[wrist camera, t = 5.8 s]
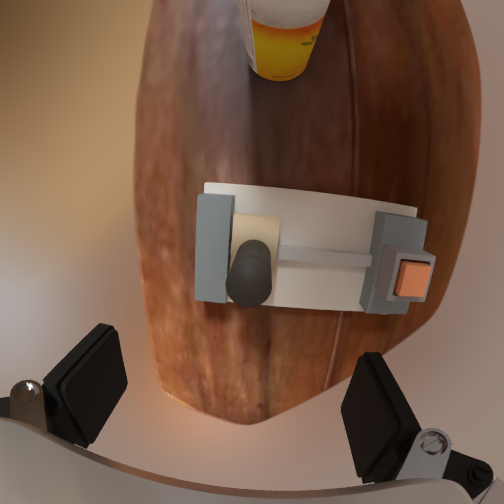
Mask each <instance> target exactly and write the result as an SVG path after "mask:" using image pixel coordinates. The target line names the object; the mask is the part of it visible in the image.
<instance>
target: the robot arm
mask: <svg viewBox="0 0 504 504" xmlns="http://www.w3.org/2000/svg"><path fill="white" fill-rule="evenodd" d="M43 382H44V384H43V385H42V386H41V385H40V384H39V383H38V382H36V381H33V380H24V381H20V382H18V383H17V384H15V385H14V386H13V388H12V389H11V393H10V397H4V398H0V504H504V482H503V481H502V480H500V479H499V478H496V479H495V480H494V479H493V471H492V469H491V467H490V466H489V465H488V464H487V463H485V462H484V461H481V460H478V459H475V458H472V457H470V456H467V455H464V454H461V453H459V452H456V451H454V450H451V445H452V444H451V440H450V438H449V436H448V435H447V434H446V433H445V432H443V431H442V430H440V429H436V428H427V429H423V430H422V429H421V427H420V425H419V423H418V421H417V419H416V417H415V415H414V413H413V412H412V409H411V408H410V406H409V404H408V402H407V400H406V398H405V396H404V395H403V393H402V391H401V389H400V387H399V386H398V384H397V382H396V380H395V378H394V377H393V375H392V373H391V371H390V370H389V368H388V366H387V364H386V362H385V361H384V359H383V357H382V355H381V354H380V353H379V352H365V353H364V354H363V356H360V357H359V358H358V361H357V364H356V367H355V370H354V373H353V376H352V378H351V381H350V384H349V387H348V389H347V392H346V395H345V397H344V400H343V402H342V405H341V414H342V417H343V421H344V425H345V429H346V433H347V437H348V441H349V445H350V449H351V453H352V457H353V461H354V465H355V469H356V473H357V476H358V477H361V478H362V482H363V484H365V483H371V482H374V484H368V485H361V486H354V487H346V488H335V489H323V490H307V491H266V490H249V489H237V488H227V487H219V486H212V485H206V484H200V483H194V482H189V481H184V480H179V479H174V478H170V477H165V476H162V475H158V474H154V473H151V472H147V471H143V470H140V469H137V468H134V467H130V466H127V465H124V464H121V463H118V462H116V461H113V460H110V459H107V458H105V457H102V456H100V455H97V454H94V453H92V452H90V451H88V450H85V449H87V447H88V446H89V444H92V443H94V441H95V440H96V438H97V436H98V435H99V433H100V431H101V430H102V428H103V426H104V424H105V423H106V421H107V419H108V418H109V416H110V414H111V413H112V411H113V409H114V408H115V406H116V404H117V403H118V401H119V400H120V398H121V396H122V394H123V393H124V391H125V390H126V387H127V384H128V381H127V376H126V372H125V367H124V362H123V358H122V353H121V348H120V342H119V337H118V332H117V331H116V330H115V329H114V327H113V326H111V325H107V324H102V323H99V324H98V325H97V326H96V327H95V328H94V329H93V330H92V331H91V332H89V334H88V335H86V336H85V337H84V338H83V339H82V340H81V341H80V342H79V343H78V344H77V345H76V346H75V347H74V348H73V349H72V350H71V351H70V352H69V353H68V354H67V355H66V356H65V357H64V358H63V359H62V360H61V361H60V363H58V364H57V365H56V366H55V367H54V368H53V369H52V370H51V372H49V374H48V375H47V376H46V377H45V378H44V379H43ZM74 444H76V445H79V446H81V447H83V448H85V449H83V448H81V447H78V446H76V445H74Z"/></svg>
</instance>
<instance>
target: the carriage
mask: <svg viewBox="0 0 504 504" xmlns="http://www.w3.org/2000/svg"><path fill="white" fill-rule="evenodd" d="M279 229H280V216H270V215H259V214H247V213H235V214H234V216H233V231H232V246H231V263H230V271H229V273H228V276H227V278H226V283H225V288H226V292H227V294H228V296H229V298H230V299H231V300H232V301H233V302H235V303H236V304H238V305H240V306H243V307H256V306H259V305H261V304H262V303H264V302H265V301H266V300H267V299H268V298H269V296H270V295H272V293H273V284H274V276H275V267H276V257H277V248H278V238H279Z"/></svg>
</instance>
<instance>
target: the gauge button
mask: <svg viewBox="0 0 504 504" xmlns="http://www.w3.org/2000/svg"><path fill="white" fill-rule="evenodd" d="M431 268H432V267H430V266H429V265H427V264H426V263H424V262H422V261H419V260H409V259H401V260H400V265H399V269H398V274H397V278H396V282H395V286H394V291H395V292H396V293H397V294H398V295H399V296H415V297H424V295H425V291H426V287H427V284H428V280H429V276H430V272H431Z"/></svg>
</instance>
